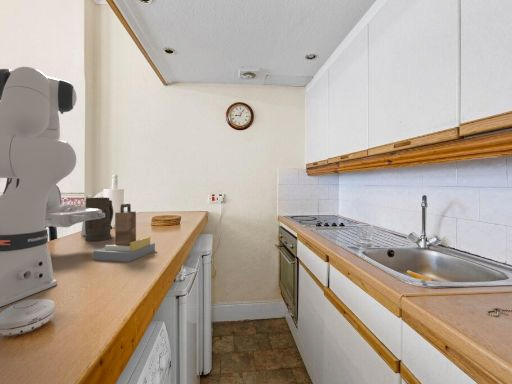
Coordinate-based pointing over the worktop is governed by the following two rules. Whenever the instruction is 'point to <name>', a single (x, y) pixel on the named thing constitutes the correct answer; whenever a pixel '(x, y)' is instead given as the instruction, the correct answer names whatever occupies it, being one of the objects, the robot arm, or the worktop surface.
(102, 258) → the dock
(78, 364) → the worktop surface
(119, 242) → the brown handled block
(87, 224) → the beer stein
